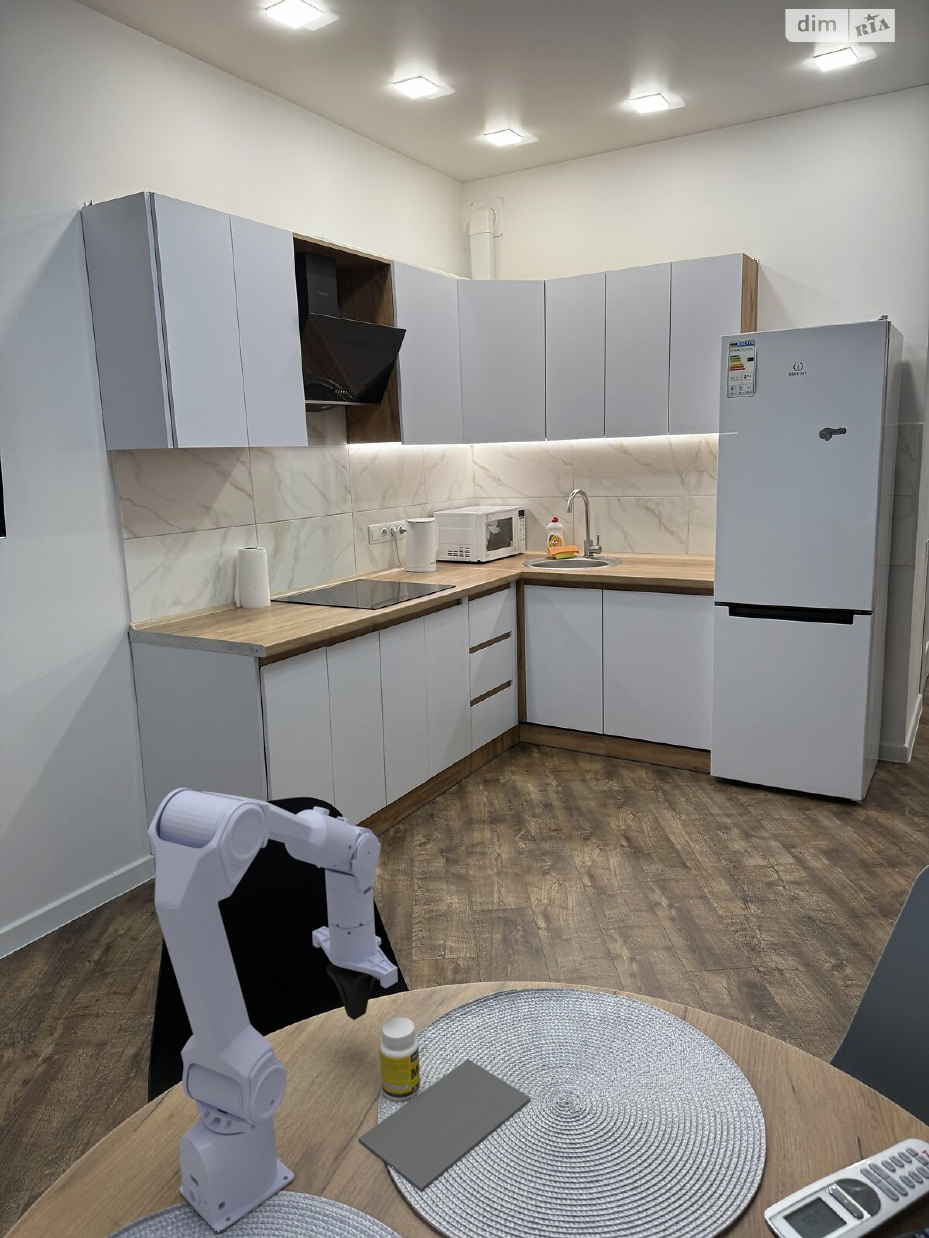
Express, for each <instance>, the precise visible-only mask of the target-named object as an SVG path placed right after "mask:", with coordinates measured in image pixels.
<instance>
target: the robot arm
mask: <svg viewBox="0 0 929 1238" xmlns="http://www.w3.org/2000/svg"><path fill="white" fill-rule="evenodd" d="M329 815H330V810H329V809H327V808H324V807H319V806H314V807H313V808H312V809H304V810H302V811H300V812H298V813H296V814H294V813H293V812H289V811H288V810H286V809H283V808H281V807H279V806H278V805H277V806H276V805H275V804H272V803H269V802H268V801H264V800H260V799H256V798H250V797H245V796H240V795H232V794H227V793H219V792H212V791H203V790H202V791H201V792H200V791H196V790H195V789H193V788H188V787H180V788H176V789H174V790H172V791H171V792H169V793H168V794H167V795H166V796H165V797H164V798H163V799H162V801H161V803H160V805H159V806H158V808H157V810H156V812H155V815H154V817H153V819H152V821H151V822H150V825H149V827H148V829H147V835H148V839H149V842H150V843H149V844H150V846H151V849H152V853H153V856H154V859H155V860H154V861H155V880H154V881H155V883H154V884H155V885H154V906H155V911H156V915H157V917H158V921H159V925H160V928H161V931H162V935H163V938H164V941H165V945H166V947H167V951H168V955H169V957H170V961H171V964H172V968H173V971H174V974H175V977H176V980H177V984H178V988H179V990H180V995H181V998H182V1001H183V1005H184V1008H185V1011H186V1014H187V1016H188V1021H189V1024H190V1028H191V1031H192V1035H191V1036H190V1038H189V1039H188V1040H187V1042H186V1043H185V1045H184V1047H183V1048H182V1050H181V1052H180V1054H181V1055H180V1056H181V1059H182V1062H183V1064H182V1065H183V1071H182V1082H181V1084H182V1090H183V1092H184V1093H185V1094H184V1095H186V1097H187V1098H189V1099H191V1100H195V1104H196V1112H198V1113H200V1117H199V1118H198V1120H196V1122H195V1124H193V1126H192V1127H191V1128H189V1129H188V1131H186V1132H185V1133H184V1134H183V1135H182V1136H180V1138H179V1140H178V1154H179V1155H178V1156H179V1165H180V1173H181V1174H180V1177H181V1185H180V1187H179V1192H180V1194H181V1195H182V1196H183V1198H185V1200H186V1201H187V1202H188V1203H189V1204H190V1205H191V1206H192V1207H193V1208H194V1209H195V1211H196V1212H197V1213H198V1214H199V1215H200V1216H201V1218H203V1219H204V1220H205V1222H206V1223H207V1222H208V1223H207V1224H208V1225H209V1226H210V1225H211V1226H210V1228H212V1229H213V1228H214V1229H213V1230H214V1231H215V1232H216V1231H217V1232H216V1233H219V1232H218V1231H221V1230H223V1229H224V1228H226V1227H227V1228H228V1226H229V1225H230V1226H231V1225H233V1224H234V1223H235V1222H237V1221H238V1220H240V1219H241V1218H243V1217H244V1216H245V1215H247V1214H248V1213H249V1212H250V1211H253V1209H255V1208H257V1207H258V1206H259V1205H260V1204H262V1203H263V1202H264V1201H266V1200H268V1199H269V1198H270V1197H272V1196H273V1195H274V1194H275V1193H277V1192H278V1191H280V1190H282V1188H284V1187H286V1185H288V1184H290V1183H291V1182H292V1181H294V1179H295V1173H294V1172H293V1171H292V1170H291V1169H289V1168H288V1167H287V1165H286V1164H284V1163H283V1162H282V1160H280V1159H279V1158H278V1157H277V1148H276V1147H277V1146H276V1135H275V1123H274V1114H275V1113H276V1112H277V1110H278V1109H279V1107H280V1106H281V1104H282V1101H283V1099H284V1097H285V1094H286V1090H287V1085H288V1084H287V1083H288V1078H287V1076H288V1075H287V1074H288V1073H287V1069H286V1065H285V1063H284V1062H283V1061H282V1060H281V1059H279V1058H278V1057H277V1056H276V1054H275V1051H274V1047H273V1045H272V1043H270V1042H269V1041H268V1040H267V1039H266V1038H265V1037H264V1036H263V1035H262V1034H261V1033H260V1032H259V1031H258V1030H257V1029H255V1028H254V1027H253V1025H252V1024H251V1021H250V1019H249V1014H248V1010H247V1007H246V1003H245V999H244V997H243V996H244V995H243V992H242V989H241V984H240V981H239V978H238V975H237V973H238V972H237V970H236V965H235V963H234V959H233V955H232V952H231V948H230V944H229V940H228V937H227V933H226V929H225V925H224V922H223V918H222V915H221V911H220V907H219V902H220V901H222V900H224V899H227V898H229V897H230V896H232V895H233V892H234V891H235V889H236V888H237V886H238V885H239V883H240V881H241V880H242V878H243V876H244V875H245V874H246V872H247V870H248V869H249V867H250V865H252V864H251V863H252V862H253V861H254V859H255V857H256V856H257V854H258V852H259V851H260V849H264V848H265V847H266V846H267V844H268V840H274V841H276V842H279V843H284V845H285V848H286V851H287V852H288V854H289V855H290V856H291V857H292V858H293V859H295V860H298V861H302V862H305V863H309V864H313V865H315V866H316V867H317V868H318V869H321V868H323V869H325V870H324V872H325V873H324V874H325V890H326V891H325V892H326V902H327V903H326V905H327V920H328V927H326V926H325V925H324V926H322V927H320V928H318V929H315V930H313V931H312V932H311V933H312V946H313V947H315V948H320V947H321V949H322V950H323V951H324V953H325V955H326V956H327V957H328V960H329V961H330V962H331V963H329V964H328V965H327V966H326V972H327V974H328V975H329V977H330V978H331V980H332V981H333V983H334V984H335V987H336V988H337V991H338V993H339V996H340V998H341V1001H342V1004H343V1008H344V1010H345V1012H346V1015H347V1017H348V1018H349V1019H351V1020H353V1021H355V1020H356V1021H357V1019H359V1018H361V1017H363V1016H364V1015H366V1013H367V1009H368V1005H369V1001H370V1000H369V999H370V995H371V992H372V989H373V986H374V983H375V981H376V979H377V980H379V981H380V986H381V987H383V988H384V989H387V988H389V987H391V986H393V985H394V984H396V983H398V979H399V978H398V966H396V965H395V964H393V963H392V962H391V961H390V960H389V959H388V957H387V956H386V955H385V953H384V952H383V950H382V949H381V948H380V945H381V944H382V939H381V937H380V936H377V935H376V927H375V925H376V924H375V910H374V908H375V907H374V906H375V905H374V904H375V903H374V892H373V891H374V888H373V884H374V883H375V882H376V877H377V865H378V862H379V858H380V854H381V845H382V844H381V842H379V839H378V837H377V835H375V834H374V832H373V831H372V829H370V828H366V827H363V826H362V827H361V826H358V825H353V824H350V819H348V818H346V817H342V816H337V817H336V818H335V817H332V816H329ZM230 1226H229V1227H230ZM227 1228H226V1229H227ZM224 1230H225V1229H224ZM224 1230H223V1231H224ZM221 1232H222V1231H221Z"/></svg>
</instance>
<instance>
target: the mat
mask: <svg viewBox="0 0 929 1238" xmlns="http://www.w3.org/2000/svg"><path fill="white" fill-rule="evenodd" d="M531 1099H532V1098H531V1096H529V1095H527V1094H525V1093H524V1092H522V1091H521V1090H519V1089H517V1088H516V1087H514V1086H512V1085H511V1084H509V1083H508V1082H507V1081H504V1079H501V1078H500V1077H498V1076H496V1075H495V1074H493V1073H492V1072H490V1071H489V1070H488V1069H487V1070H486V1069H485V1068H484V1067H482V1066H480V1065H479V1064H478V1063H476V1062H474V1061H472V1060H470V1059H469V1058H467V1059H465V1060H464V1061H463V1062H462V1063H461V1064H459V1065H457V1066H456V1067H454V1069H452V1070H450V1072H448V1073H446V1074H445V1075H443V1077H441V1078H440V1079H437V1081H435V1082H434V1083H433V1084H431V1085H430V1086H429V1087H427V1088H425V1089H424V1090H423V1091H422V1092H420V1093H419V1094H417V1095H415V1096H414V1097H412V1098H411V1100H409V1101H408V1102H407V1103H405V1104H404V1105H402V1106H401V1107H400V1108H398V1109H397V1110H396V1111H394V1112H393V1113H391V1114H389V1116H387V1117H386V1118H385V1119H383V1120H382V1121H380V1123H378V1124H376V1125H375V1126H373V1127H372V1128H371V1129H370V1130H368V1131H367V1132H365V1133H364V1134H363V1135H361V1136H360V1137H358V1142H359V1143H360V1144H361V1145H362V1146H363V1147H365V1148H366V1149H367V1150H369V1151H370V1152H372V1154H374V1155H375V1156H376V1157H377V1158H378V1159H380V1160H381V1161H382V1162H383V1163H385V1164H386V1165H387V1166H389V1165H390V1166H391V1167H393V1168H394V1169H395V1170H396V1171H397V1172H398V1173H397V1172H396V1171H395V1170H394V1169H393V1170H394V1171H395V1172H396V1173H397V1174H398V1175H400V1176H401V1177H402V1178H403V1179H405V1181H407V1182H409V1183H410V1184H411V1185H412V1186H413V1187H415V1188H416V1189H418V1191H420V1192H421V1193H422V1192H423V1191H424V1190H425V1189H427V1188H428V1187H429V1186H430V1185H431V1184H433V1183H434V1182H435V1181H436V1180H437V1179H439V1178H440V1177H441V1176H442V1175H443V1174H445V1173H446V1172H447V1171H449V1169H451V1168H452V1167H453V1166H454V1165H456V1164H457V1163H458V1162H459V1161H460V1160H462V1159H463V1158H464V1157H465V1156H466V1155H468V1154H469V1153H470V1152H471V1151H472V1150H474V1149H475V1148H476V1147H477V1146H479V1144H481V1143H482V1142H483V1141H484V1140H485V1139H487V1138H488V1137H489V1136H490V1135H491V1134H493V1133H494V1132H495V1131H496V1130H498V1129H499V1128H500V1127H501V1126H502V1125H503V1124H505V1123H506V1122H507V1121H508V1120H509V1119H510V1118H512V1117H513V1116H514V1115H515V1114H517V1113H518V1112H519V1111H521V1109H523V1108H524V1107H525V1106H526V1105H527V1104H528V1103H530V1102H531V1101H532V1100H531ZM390 1166H389V1167H390ZM391 1167H390V1168H391Z"/></svg>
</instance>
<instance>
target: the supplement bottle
mask: <svg viewBox="0 0 929 1238" xmlns="http://www.w3.org/2000/svg"><path fill="white" fill-rule="evenodd" d="M415 1027H416V1026H415V1023H414V1022H413V1020H411V1019H409V1018H406V1017H402V1016H401V1017H400V1016H399V1017H393V1018H390V1019H388V1020H386V1021H385V1022H384V1023H383V1025H382V1027H381V1038H382V1039H381V1040H380V1043H379V1057H380V1059H379V1060H380V1076H381V1078H380V1079H381V1080H380V1081H381V1091H382V1093H383V1095H384V1096H385V1097H386V1098H387V1099H389V1100H391V1101H395V1102H401V1101H407V1099H408V1100H409V1098H410V1099H412V1098H414V1097H415V1096H417V1094H418V1093H417V1092H419V1091H420V1088H421V1077H420V1056H419V1055H420V1050H419V1048H420V1047H419V1041H418V1038H417V1036H416V1029H415ZM416 1093H417V1094H416ZM414 1095H415V1096H414ZM413 1096H414V1097H413ZM411 1097H412V1098H411Z"/></svg>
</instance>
